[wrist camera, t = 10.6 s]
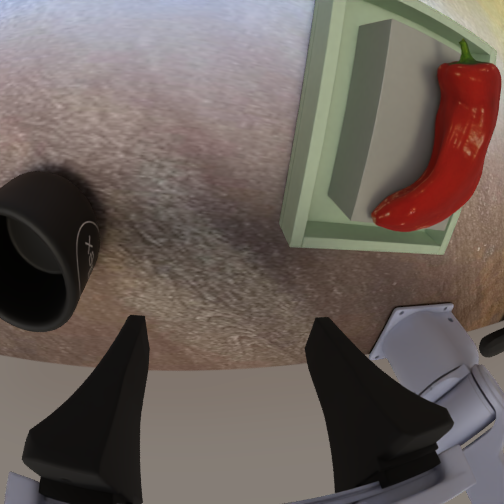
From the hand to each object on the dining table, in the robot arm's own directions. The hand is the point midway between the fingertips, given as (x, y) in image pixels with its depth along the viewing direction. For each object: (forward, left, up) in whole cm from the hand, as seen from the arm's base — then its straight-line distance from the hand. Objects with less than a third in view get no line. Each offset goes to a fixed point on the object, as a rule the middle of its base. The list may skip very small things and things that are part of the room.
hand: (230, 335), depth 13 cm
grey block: (-11, -9, -10) cm, 18 cm away
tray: (-11, -9, -10) cm, 18 cm away
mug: (+14, 0, -11) cm, 18 cm away
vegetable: (-11, -9, -6) cm, 15 cm away
